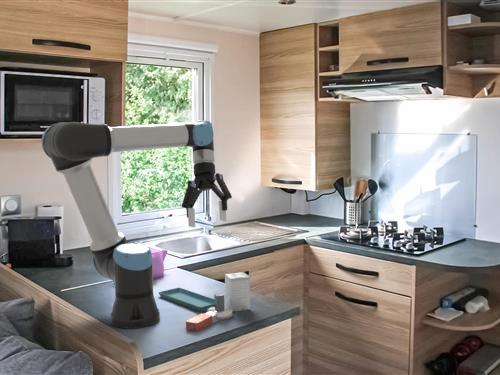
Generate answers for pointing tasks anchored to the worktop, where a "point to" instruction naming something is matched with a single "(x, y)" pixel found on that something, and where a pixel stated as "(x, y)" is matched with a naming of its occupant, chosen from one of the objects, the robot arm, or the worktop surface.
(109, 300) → the worktop surface
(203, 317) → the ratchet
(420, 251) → the worktop surface
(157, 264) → the pink pitcher
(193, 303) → the teal serving tray
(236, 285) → the tall white box
